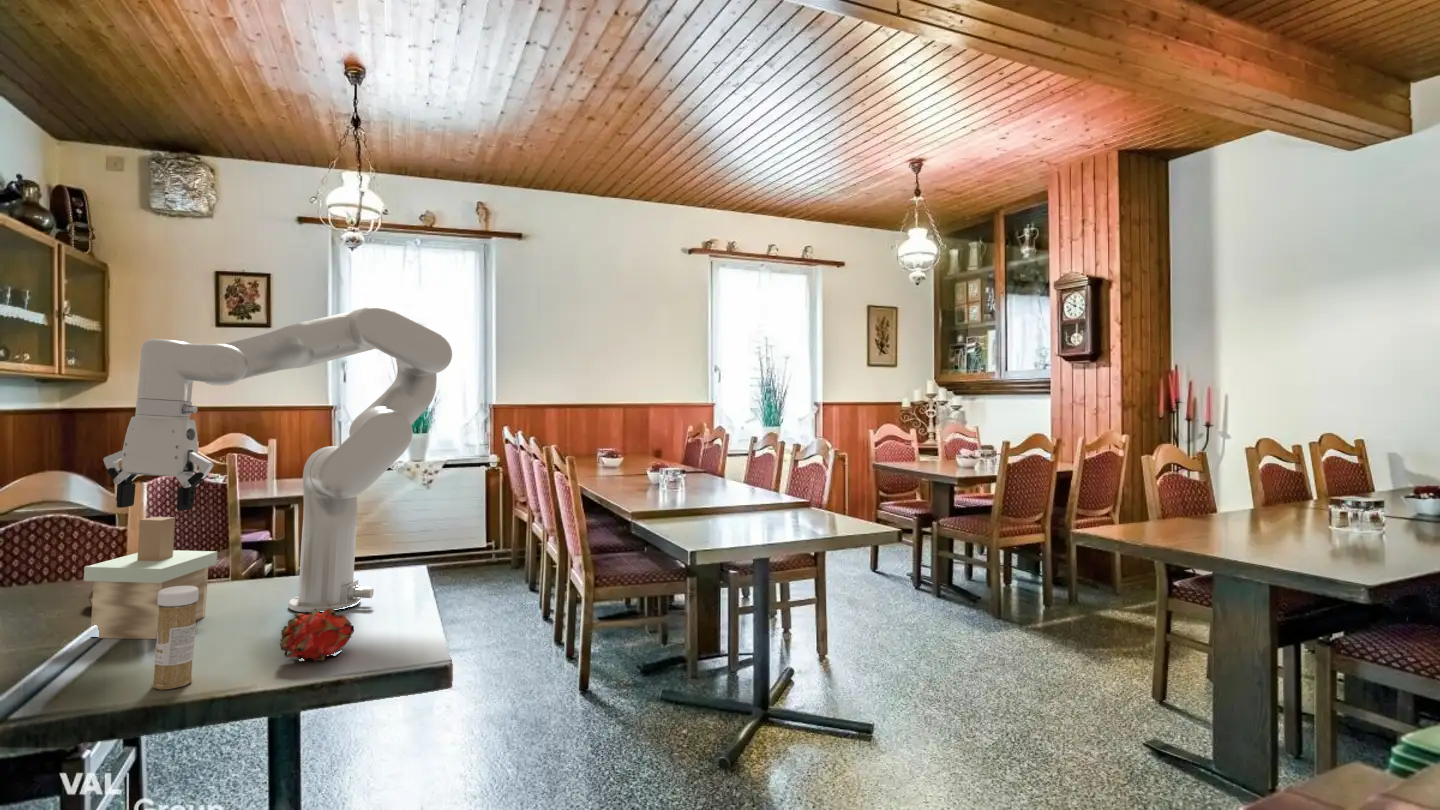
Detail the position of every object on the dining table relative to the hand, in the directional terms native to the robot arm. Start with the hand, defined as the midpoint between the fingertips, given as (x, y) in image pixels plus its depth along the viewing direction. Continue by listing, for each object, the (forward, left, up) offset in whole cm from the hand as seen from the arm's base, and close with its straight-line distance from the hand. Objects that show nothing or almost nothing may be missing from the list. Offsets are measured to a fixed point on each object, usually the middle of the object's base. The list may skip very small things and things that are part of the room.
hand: (154, 508), depth 124 cm
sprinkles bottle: (-20, +26, -21) cm, 39 cm away
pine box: (0, 0, -21) cm, 21 cm away
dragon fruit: (-34, +14, -21) cm, 43 cm away
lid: (0, 0, -11) cm, 11 cm away
